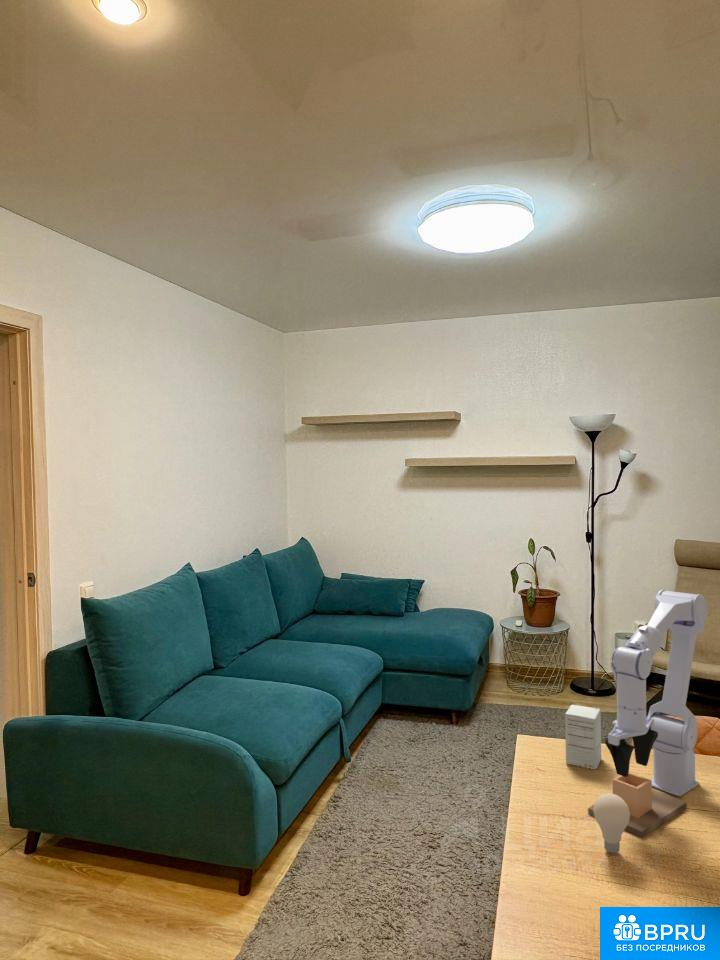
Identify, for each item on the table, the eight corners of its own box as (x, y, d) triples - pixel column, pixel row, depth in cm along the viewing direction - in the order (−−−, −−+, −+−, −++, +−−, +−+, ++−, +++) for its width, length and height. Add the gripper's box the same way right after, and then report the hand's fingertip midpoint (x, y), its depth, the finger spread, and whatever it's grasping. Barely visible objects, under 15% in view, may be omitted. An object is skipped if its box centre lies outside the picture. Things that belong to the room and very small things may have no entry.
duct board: (633, 787, 153) (633, 766, 152) (686, 807, 143) (686, 785, 143) (588, 813, 141) (587, 791, 141) (642, 837, 132) (641, 814, 132)
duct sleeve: (626, 798, 145) (626, 771, 145) (651, 808, 141) (651, 780, 140) (612, 807, 141) (612, 779, 141) (638, 817, 137) (637, 788, 137)
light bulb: (633, 864, 123) (633, 805, 123) (596, 860, 125) (595, 802, 124) (627, 844, 130) (626, 788, 130) (591, 841, 131) (590, 785, 131)
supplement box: (571, 752, 171) (571, 703, 171) (602, 758, 167) (601, 708, 167) (564, 764, 165) (564, 713, 165) (596, 770, 161) (595, 718, 161)
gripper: (632, 692, 148) (632, 753, 148) (594, 708, 139) (595, 773, 140) (663, 701, 143) (663, 764, 143) (626, 718, 134) (626, 785, 134)
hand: (632, 769), depth 141 cm, fingers open, 7 cm apart
